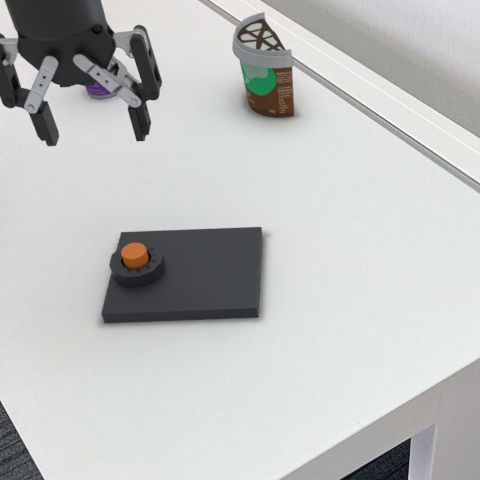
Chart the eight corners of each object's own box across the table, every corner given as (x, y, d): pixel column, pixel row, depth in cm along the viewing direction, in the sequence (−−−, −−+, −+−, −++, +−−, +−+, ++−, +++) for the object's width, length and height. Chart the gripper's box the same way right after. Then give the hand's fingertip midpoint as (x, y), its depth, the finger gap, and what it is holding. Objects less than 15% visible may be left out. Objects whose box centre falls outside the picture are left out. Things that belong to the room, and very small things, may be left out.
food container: (229, 87, 110) (219, 18, 103) (270, 78, 112) (263, 10, 104) (254, 131, 103) (245, 60, 95) (297, 121, 104) (292, 51, 96)
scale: (104, 323, 79) (96, 303, 77) (123, 241, 88) (117, 220, 86) (258, 317, 80) (255, 296, 77) (262, 235, 88) (260, 215, 86)
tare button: (122, 270, 81) (119, 259, 80) (126, 253, 83) (123, 242, 82) (147, 269, 81) (144, 258, 80) (150, 252, 83) (147, 242, 82)
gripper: (-60, -10, 59) (15, 166, 71) (123, -20, 60) (167, 157, 72) (-33, -48, 64) (33, 122, 76) (136, -58, 65) (175, 114, 77)
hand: (98, 139), depth 74 cm, fingers open, 8 cm apart
